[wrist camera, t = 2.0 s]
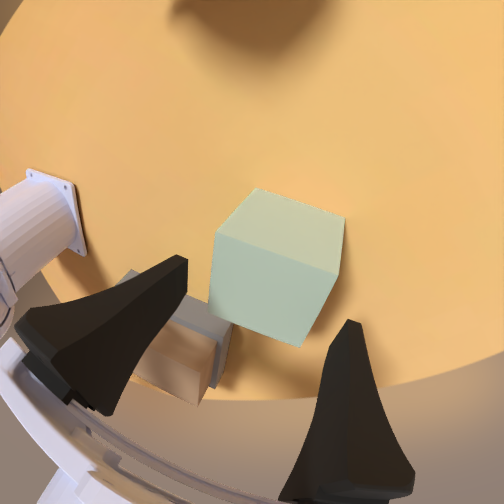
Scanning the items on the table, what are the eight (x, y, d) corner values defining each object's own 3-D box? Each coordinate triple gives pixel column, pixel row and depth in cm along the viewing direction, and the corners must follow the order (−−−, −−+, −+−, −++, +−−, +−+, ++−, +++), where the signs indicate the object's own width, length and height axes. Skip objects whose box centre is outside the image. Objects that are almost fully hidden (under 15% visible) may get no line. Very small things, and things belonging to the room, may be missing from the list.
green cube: (242, 257, 18) (207, 312, 14) (256, 187, 15) (215, 231, 11) (316, 284, 17) (299, 347, 13) (345, 217, 14) (338, 275, 10)
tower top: (141, 348, 26) (126, 368, 24) (130, 298, 21) (108, 323, 19) (210, 382, 25) (197, 407, 22) (217, 341, 20) (200, 372, 17)
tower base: (146, 329, 29) (132, 348, 27) (135, 265, 23) (114, 285, 21) (226, 366, 28) (215, 389, 25) (238, 309, 21) (223, 337, 19)
